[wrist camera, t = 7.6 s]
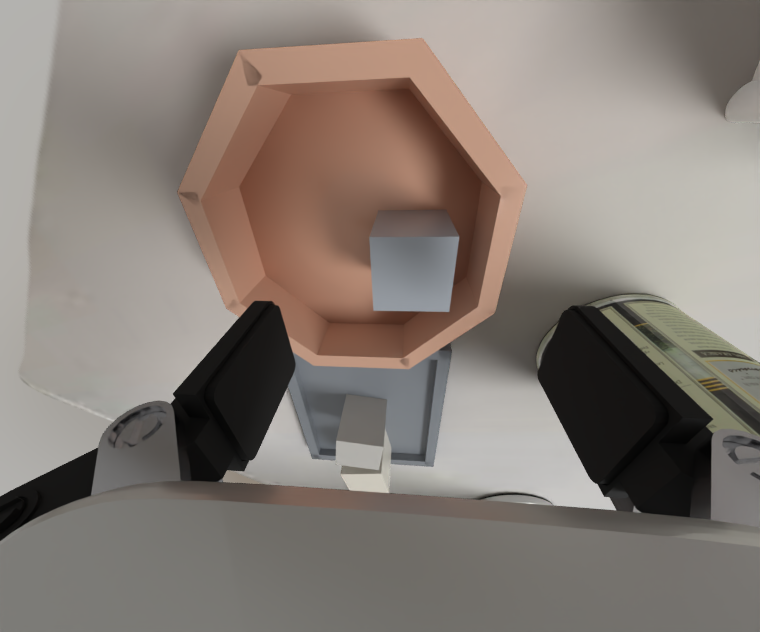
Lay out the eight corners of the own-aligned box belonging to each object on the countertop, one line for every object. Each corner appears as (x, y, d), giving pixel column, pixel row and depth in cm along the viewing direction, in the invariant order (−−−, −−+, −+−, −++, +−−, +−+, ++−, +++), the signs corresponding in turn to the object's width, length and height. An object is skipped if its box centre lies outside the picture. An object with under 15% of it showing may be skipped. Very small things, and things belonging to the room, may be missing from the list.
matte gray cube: (439, 271, 18) (449, 311, 14) (380, 271, 19) (373, 310, 15) (446, 209, 16) (459, 236, 12) (378, 210, 16) (369, 237, 12)
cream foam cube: (391, 447, 31) (389, 493, 27) (358, 448, 32) (351, 493, 28) (384, 426, 29) (381, 473, 25) (349, 428, 30) (340, 474, 26)
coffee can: (622, 399, 25) (809, 635, 13) (513, 379, 24) (609, 604, 13) (724, 307, 19) (1219, 589, 7) (582, 278, 19) (871, 529, 7)
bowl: (467, 330, 22) (479, 371, 18) (274, 325, 23) (249, 363, 19) (520, 56, 13) (566, 28, 9) (195, 75, 14) (120, 57, 10)
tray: (432, 454, 33) (433, 466, 32) (315, 447, 34) (312, 458, 33) (449, 339, 22) (451, 350, 21) (280, 334, 24) (274, 345, 22)
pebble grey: (382, 423, 29) (378, 470, 25) (345, 418, 29) (335, 464, 25) (387, 399, 27) (383, 447, 23) (346, 394, 27) (336, 440, 23)
